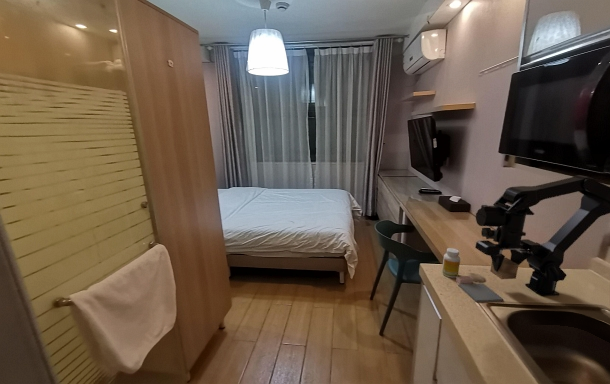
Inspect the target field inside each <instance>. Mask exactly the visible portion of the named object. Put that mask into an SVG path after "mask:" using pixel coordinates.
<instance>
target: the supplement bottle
mask: <svg viewBox="0 0 610 384" xmlns="http://www.w3.org/2000/svg"><path fill="white" fill-rule="evenodd" d="M459 255H460V250H458V249H457V248H453V247H448V248H446V253H444V255H443V258H442V259H443V260H442V267H441V273H442V275H443V276H445V277H447V278H449V279H450V278H455V279H456V277H459V271H460V263H461V257H460V256H459Z"/></svg>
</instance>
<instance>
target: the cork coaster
mask: <svg viewBox="0 0 610 384" xmlns="http://www.w3.org/2000/svg"><path fill="white" fill-rule="evenodd" d="M465 276H470V277H472V278H473V282H475V283H485V282H486V278H485V277H484V276H483V275H481V274H478V273H475V272H468V273H466V274H465Z"/></svg>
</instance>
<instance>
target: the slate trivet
mask: <svg viewBox="0 0 610 384" xmlns="http://www.w3.org/2000/svg"><path fill="white" fill-rule="evenodd" d="M457 284H458V287H459V288H460V289H461V290H462V291H463V292H464V293H465V294H467V295H468V297H470V298H471V299H472V300H473V301H474V302H475V303H483V302H486V303H487V302H503V301H504V299H503V298H502V296H500V294H497V293H496V292H495V291H494V290H492V289H491V288H490V287H489V286H488V285H486V284H485V282H476V283H471V284H459V283H457Z"/></svg>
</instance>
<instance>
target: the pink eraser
mask: <svg viewBox="0 0 610 384" xmlns="http://www.w3.org/2000/svg"><path fill="white" fill-rule="evenodd" d="M455 283H457V284H474V281H473V278H472V277H470V276H466V275H464V276H463V275H461V276H457V277H455Z"/></svg>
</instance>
